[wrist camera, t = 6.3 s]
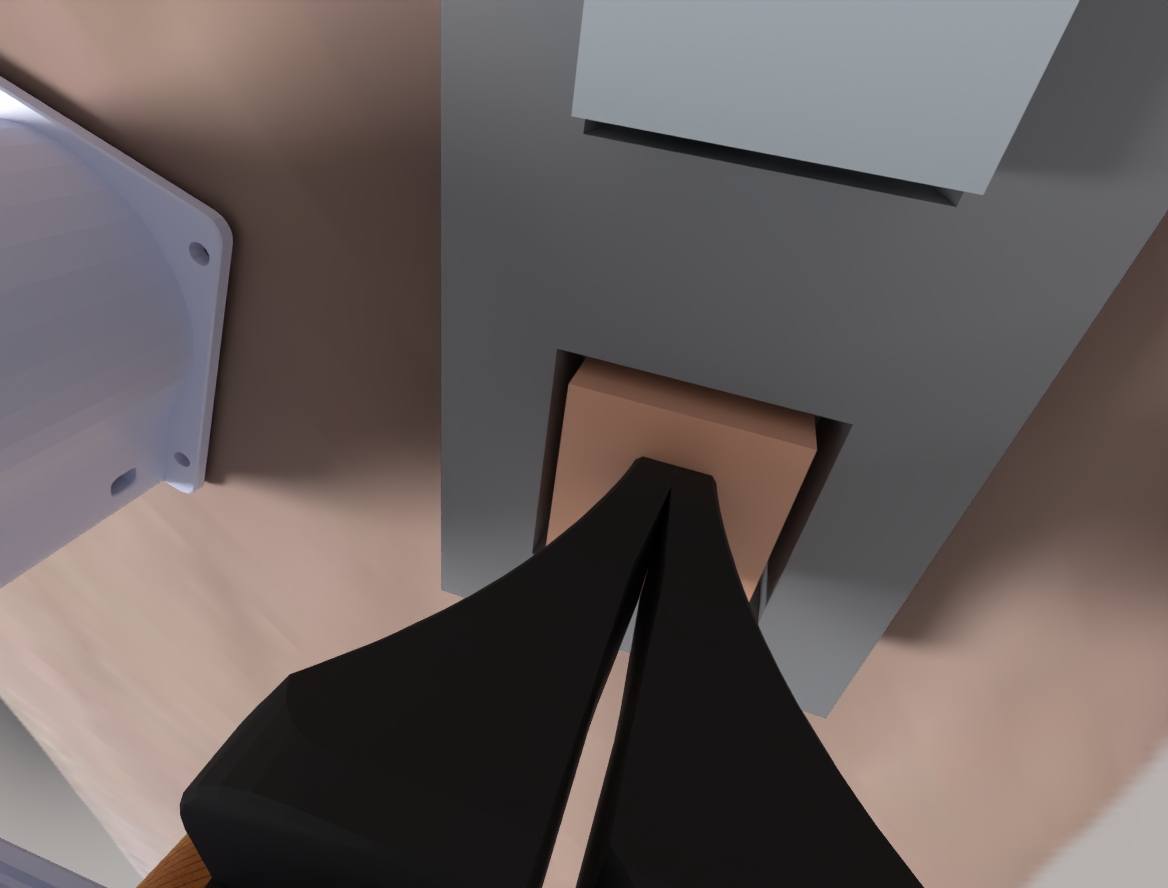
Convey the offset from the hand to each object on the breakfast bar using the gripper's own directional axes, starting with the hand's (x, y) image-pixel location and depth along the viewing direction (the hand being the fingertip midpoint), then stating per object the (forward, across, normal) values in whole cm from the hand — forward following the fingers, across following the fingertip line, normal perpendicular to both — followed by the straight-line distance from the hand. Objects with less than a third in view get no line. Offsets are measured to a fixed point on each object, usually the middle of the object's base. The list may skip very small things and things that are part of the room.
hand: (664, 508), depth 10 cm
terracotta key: (+2, 0, 0) cm, 2 cm away
